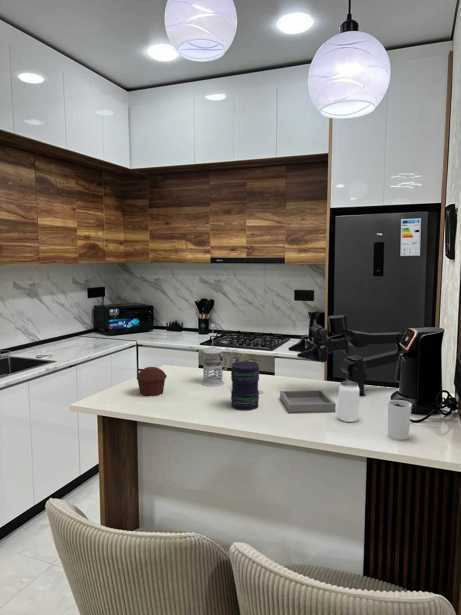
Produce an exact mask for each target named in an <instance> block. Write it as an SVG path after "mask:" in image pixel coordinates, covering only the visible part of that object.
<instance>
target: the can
mask: <svg viewBox="0 0 461 615" xmlns="http://www.w3.org/2000/svg"><path fill="white" fill-rule="evenodd" d="M337 401H338V406H337V418H338V419H339V420H340V421H341V422H344V423H355V422H358V420H359V415H360V414H359V412H360V411H359V410H360V409H359V408H360V396H359V387H358V383H356V382H352V381H346V380H344V381H341V382H340V383H339V386H338V400H337Z"/></svg>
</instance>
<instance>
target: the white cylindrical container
mask: <svg viewBox="0 0 461 615" xmlns="http://www.w3.org/2000/svg"><path fill="white" fill-rule="evenodd" d="M411 416H412V403H411V402H408V401H407V400H401V399H390V400H389V401H387V436H388V438H390V439H393V440H398V441H406V440H408V439H409V436H410V435H409V434H410V427H411V426H410V425H411Z"/></svg>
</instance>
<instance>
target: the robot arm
mask: <svg viewBox="0 0 461 615" xmlns="http://www.w3.org/2000/svg"><path fill="white" fill-rule="evenodd" d="M347 319H348V318H347V315H344V314H338V315H329V316H327V321H328V329H327V328H323V326H322V325H320V324H318V323H316V324H314V325H312V326H311V327H309V330H310V331H311V333H312V335H313V337H311V336H310V335H308V334H302V335H301V336H300V340H299V341H298V342H296V343H294V344H293V345H291V346H289V347H288V351H289V352H296V353H297V354H296V357H297V358H300V359H306V360H308V361H309V360H310V361H314V362H317V363H318V362H320V363H326V362H328V360H329V355H331V354H334V352H338V351H342V353H343V354H345V355H346V358H343V359H342V360H341V361H340V370H341V371H342V372H343V374H344V376H346V377H345V381H352V382H356V383H358V387H359V397H360V396H366V393H365V381H367V378H368V374H367V373H366V372H367V370H370V369H374V368H378V367H382V366H386V365H390V364H394V363H398V357H399V354H400V353H401V351H402V349H401V347H400V345H399V343H400V341H401V339H402V337H403V336H404V334H405V333H403V332H402V333H401V332H399V331H395V332H371V333H369V332H364V331H363V332H362V331H357V330H351V329H349V328H348V324H347V321H348V320H347ZM328 330H329V331H328ZM329 333H332V335H333V336H328V334H329ZM382 344H383V345H385V344H395V347H397V348H396V349H394V350H391V351H386V352H384V353H383V352H382V353H379V354H375V355H371V356H367V357H363V356H360V355H358V354H353V355H350V356H347V355H349V352H350V350H351V348H350V347H349V346H351V347H354V348H356V349H360V348H361V349H362V348H365V347H369V346H370V345H382Z"/></svg>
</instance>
